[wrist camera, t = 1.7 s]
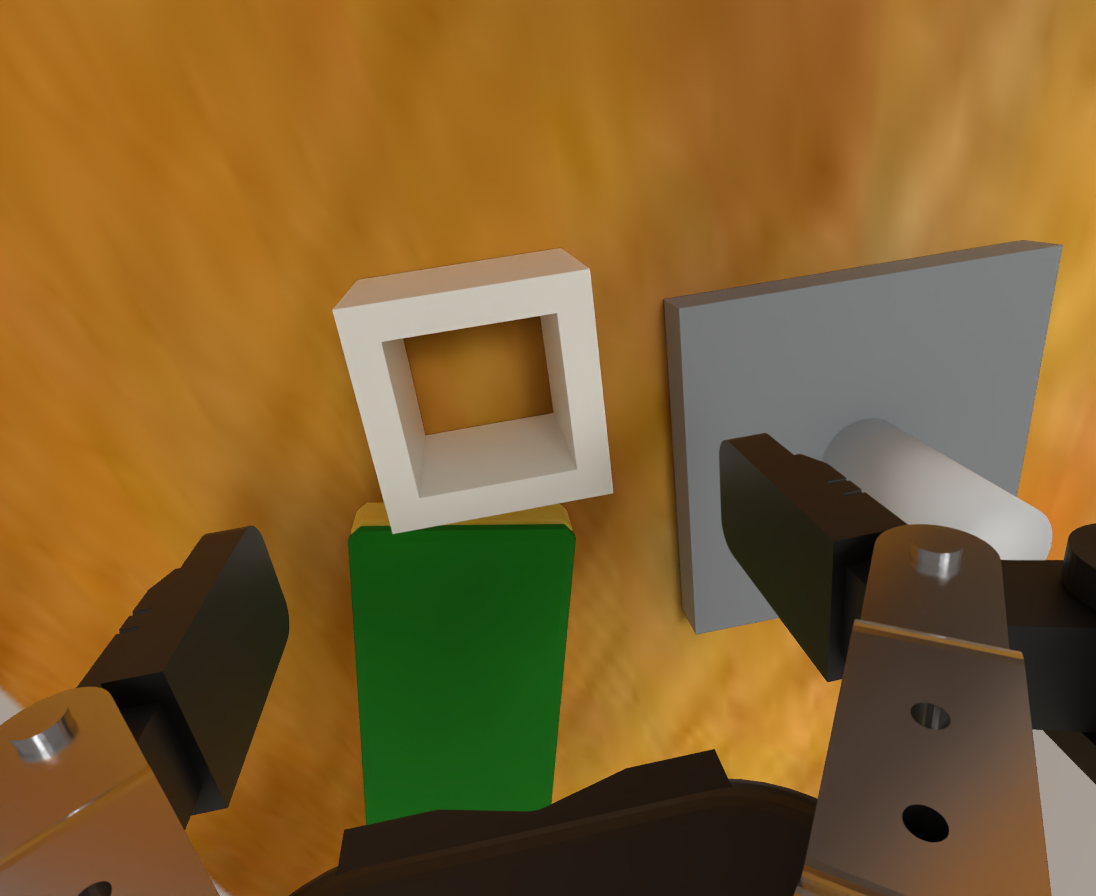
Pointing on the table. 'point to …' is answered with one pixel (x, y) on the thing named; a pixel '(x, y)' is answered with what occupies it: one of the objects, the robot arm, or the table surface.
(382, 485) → the ring
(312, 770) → the table surface
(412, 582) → the dish sponge
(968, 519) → the post stand
